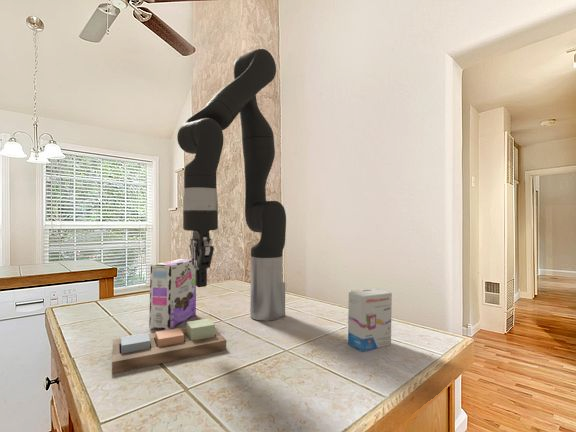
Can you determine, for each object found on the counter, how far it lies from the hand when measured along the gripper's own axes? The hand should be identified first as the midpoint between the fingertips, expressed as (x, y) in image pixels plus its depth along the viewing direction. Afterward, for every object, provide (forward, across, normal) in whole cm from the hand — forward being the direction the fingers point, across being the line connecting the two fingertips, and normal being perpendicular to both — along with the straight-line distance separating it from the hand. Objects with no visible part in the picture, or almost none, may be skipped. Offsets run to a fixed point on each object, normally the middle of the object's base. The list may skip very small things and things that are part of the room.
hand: (201, 286), depth 68 cm
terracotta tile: (+12, 0, +7) cm, 14 cm away
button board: (+12, 0, +7) cm, 14 cm away
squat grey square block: (+12, 0, +13) cm, 18 cm away
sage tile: (+11, 0, 0) cm, 11 cm away
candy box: (+13, +19, +3) cm, 23 cm away
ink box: (+13, -19, -32) cm, 40 cm away
